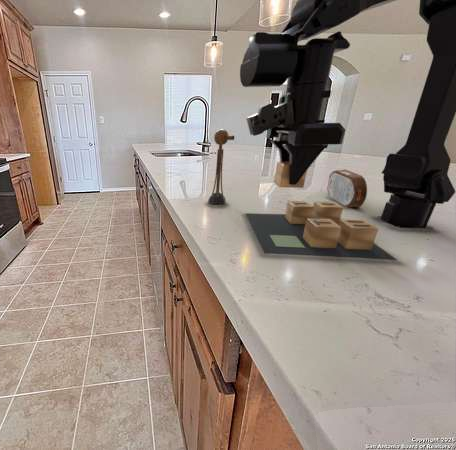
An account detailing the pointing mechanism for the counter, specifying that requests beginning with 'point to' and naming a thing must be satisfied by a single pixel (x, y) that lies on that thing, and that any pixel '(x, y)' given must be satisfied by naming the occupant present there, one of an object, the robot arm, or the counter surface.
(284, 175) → the s tile
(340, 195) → the tin
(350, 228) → the front word
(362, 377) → the counter surface
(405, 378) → the counter surface
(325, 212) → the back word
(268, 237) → the letter mat
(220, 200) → the wooden tabletop sculpture
